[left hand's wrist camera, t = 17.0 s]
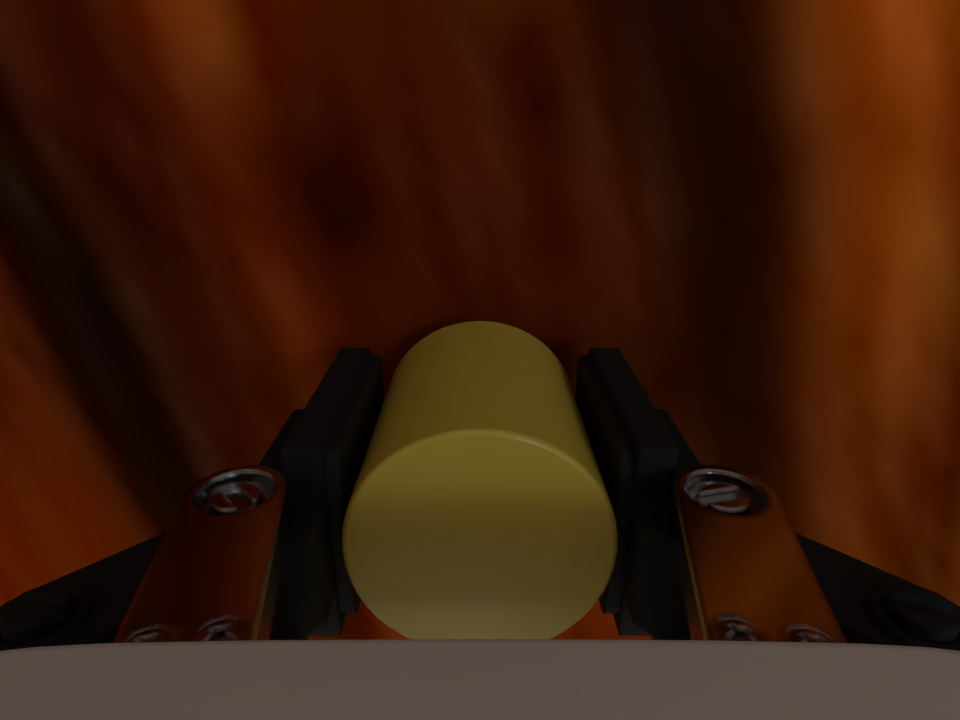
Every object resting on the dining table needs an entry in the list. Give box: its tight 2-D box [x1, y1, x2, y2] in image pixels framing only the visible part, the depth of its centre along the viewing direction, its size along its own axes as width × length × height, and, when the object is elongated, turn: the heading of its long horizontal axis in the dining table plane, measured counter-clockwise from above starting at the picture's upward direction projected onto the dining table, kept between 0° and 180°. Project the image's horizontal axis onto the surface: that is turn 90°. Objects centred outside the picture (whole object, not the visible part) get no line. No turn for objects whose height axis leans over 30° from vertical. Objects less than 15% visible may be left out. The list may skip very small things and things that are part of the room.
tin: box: [342, 321, 618, 639], centre depth 10 cm, size 4×4×4 cm
